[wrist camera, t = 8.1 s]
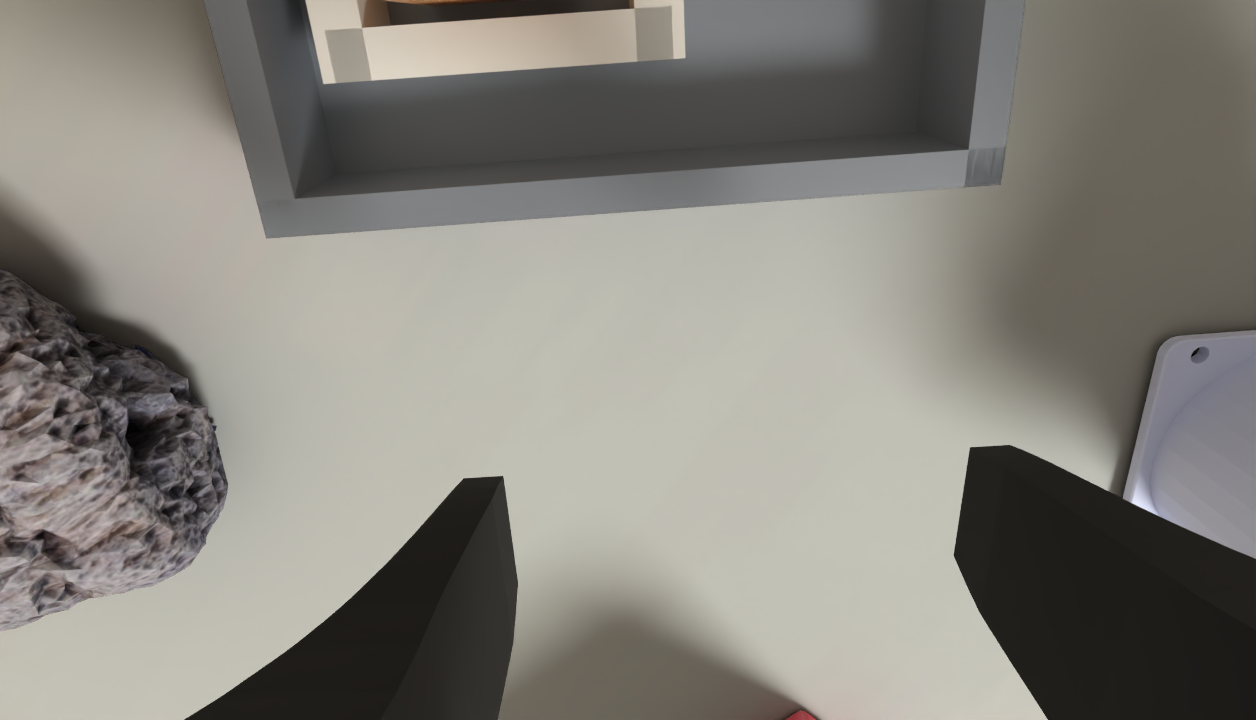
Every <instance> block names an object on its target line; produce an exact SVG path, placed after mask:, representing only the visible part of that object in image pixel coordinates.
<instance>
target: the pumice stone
mask: <svg viewBox="0 0 1256 720" xmlns="http://www.w3.org/2000/svg"><path fill="white" fill-rule="evenodd" d="M76 318H77V317H76V316H75V315H73V314H72V313H71V312H69V311H68V310H67V309H66V308H64V307H63V306H62V305H60V304H58V303H56V302H54V301H52V300H50V299H48V298H46V297H45V296H43V295H42V294H40V293H39V292H37V291H36V290H34V289H33V288H31V287H30V286H29V285H28V284H27V283H25V282H24V281H22V280H21V279H19V278H18V277H16V276H15V275H14V274H12V273H10V272H7V271H6V270H5V269H2V268H0V631H4V630H9V629H14V628H18V627H20V626H23V625H26V624H28V623H31V622H34V621H36V620H38V619H40V618H41V617H43V616H45V615H48V614H52V613H56V612H60V611H64V610H69V609H70V608H71V607H73V606H74V605H75V604H76V603H78V602H81V601H83V600H86V599H88V598H96V597H102V596H108V595H112V594H120V593H125V592H128V591H130V590H133V589H135V588H143V587H150V586H153V585H155V584H157V583H159V582H161V581H163V580H165V579H167V578H169V577H171V576H173V575H175V574H176V573H178V572H180V571H181V570H183V569H185V568H186V567H188V566H190V565H191V563H192V562H193V560H194V559H195V557H196V556H197V554H198V553H199V552H200V550H201V549H202V547H203V546H204V545H205V544H206V537H207V534H208V532H209V530H210V529H211V527H212V525H213V523H214V522H215V521H216V520H217V518H218V517H219V513H220V512H221V511H222V509H223V507H224V503H225V499H226V496H227V489H228V482H227V479H226V475H225V471H224V467H223V463H222V459H221V455H220V451H219V447H218V442H217V438H216V435H215V432H214V431H215V430H216V426H214V425H211V423H210V421H209V419H208V407H206V406H202V405H199V404H198V403H197V402H195V398H194V397H191V396H190V393H189V383H188V378H186V377H184V376H181V375H179V374H177V373H175V372H174V371H173V370H171V369H170V368H169V367H167V366H166V365H165V364H164V363H162V362H161V361H160V360H159V359H157V358H156V357H155V356H153V355H152V354H151V353H150V352H149V351H148V350H146V349H145V348H143V347H140V346H138V345H132V346H131V348H129V347H125V346H121V345H118V344H116V343H114V342H110V341H109V340H108V339H107V338H106V336H105V337H104V336H102V335H98V334H92V333H87V332H82V331H81V330H80V329H79V328H78V326H77V325H76V324H75V322H74V321H75V320H76Z"/></svg>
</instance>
